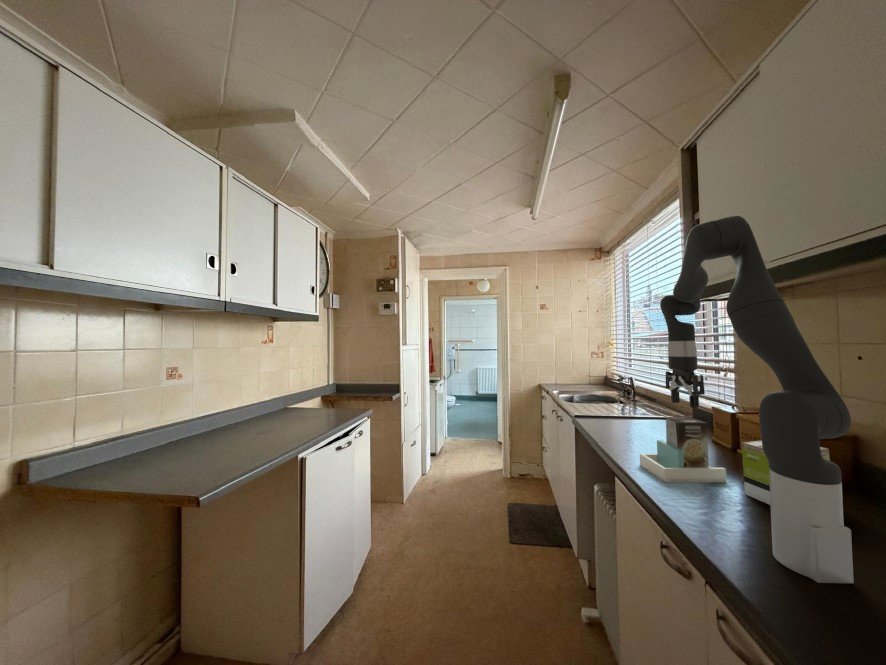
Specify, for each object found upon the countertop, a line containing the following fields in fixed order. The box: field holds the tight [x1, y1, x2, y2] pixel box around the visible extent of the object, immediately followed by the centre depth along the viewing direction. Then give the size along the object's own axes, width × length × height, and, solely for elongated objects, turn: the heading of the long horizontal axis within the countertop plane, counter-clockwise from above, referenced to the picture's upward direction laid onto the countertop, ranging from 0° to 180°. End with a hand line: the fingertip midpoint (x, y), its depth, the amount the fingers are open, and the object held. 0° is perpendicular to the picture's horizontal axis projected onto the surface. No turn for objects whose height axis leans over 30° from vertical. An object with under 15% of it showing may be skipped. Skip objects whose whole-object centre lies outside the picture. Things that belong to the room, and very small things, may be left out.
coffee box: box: [665, 417, 710, 468], centre depth 102 cm, size 9×6×16 cm
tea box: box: [741, 439, 831, 506], centre depth 85 cm, size 15×10×15 cm
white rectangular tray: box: [639, 453, 727, 483], centre depth 102 cm, size 13×18×4 cm
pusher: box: [656, 439, 684, 468], centre depth 103 cm, size 10×2×8 cm, turn 177°
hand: (684, 405), depth 103 cm, fingers open, 8 cm apart
